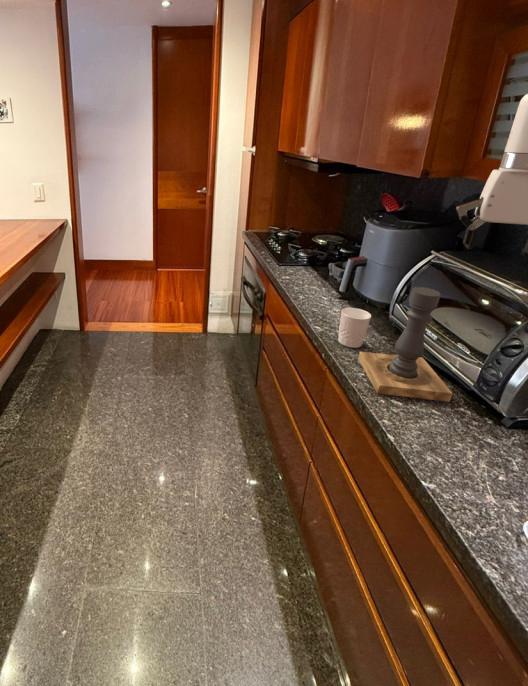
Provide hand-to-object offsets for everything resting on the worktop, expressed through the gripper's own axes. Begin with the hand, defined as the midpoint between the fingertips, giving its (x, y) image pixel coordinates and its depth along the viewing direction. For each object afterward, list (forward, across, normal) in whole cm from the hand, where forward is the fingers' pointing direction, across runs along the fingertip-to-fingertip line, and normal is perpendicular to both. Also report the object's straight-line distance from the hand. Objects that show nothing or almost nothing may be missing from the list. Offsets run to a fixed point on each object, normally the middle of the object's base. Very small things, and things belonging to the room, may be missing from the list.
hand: (497, 250), depth 79 cm
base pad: (+38, +9, -6) cm, 39 cm away
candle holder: (+38, +9, -6) cm, 39 cm away
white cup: (+38, +21, -21) cm, 48 cm away
